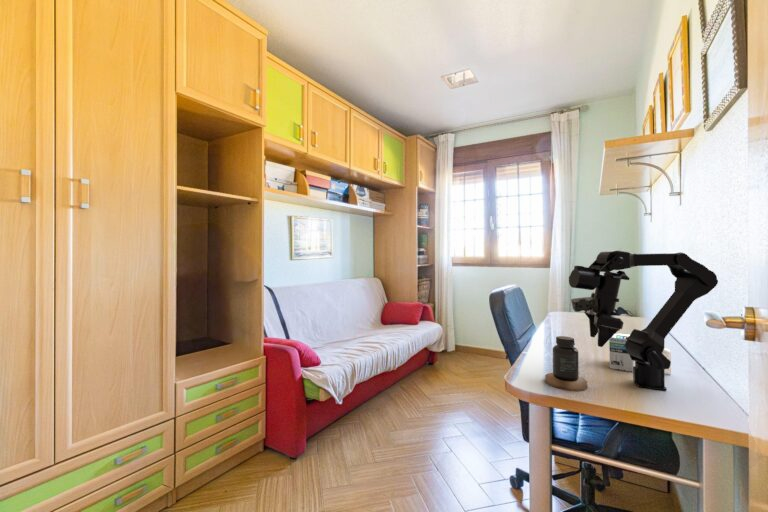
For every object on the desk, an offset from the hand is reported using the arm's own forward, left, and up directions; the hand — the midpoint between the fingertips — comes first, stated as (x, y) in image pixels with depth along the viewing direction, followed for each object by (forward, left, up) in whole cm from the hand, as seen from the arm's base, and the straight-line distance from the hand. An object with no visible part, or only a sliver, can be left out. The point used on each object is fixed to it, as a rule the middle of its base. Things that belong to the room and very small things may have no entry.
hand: (595, 341), depth 100 cm
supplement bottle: (+8, +6, -11) cm, 15 cm away
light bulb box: (-10, -21, -12) cm, 27 cm away
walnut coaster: (+8, +7, -12) cm, 16 cm away
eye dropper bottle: (-20, -19, -12) cm, 30 cm away
